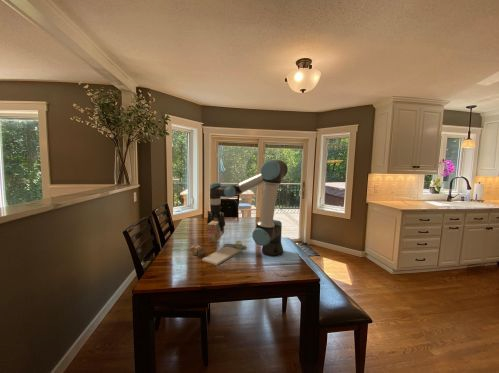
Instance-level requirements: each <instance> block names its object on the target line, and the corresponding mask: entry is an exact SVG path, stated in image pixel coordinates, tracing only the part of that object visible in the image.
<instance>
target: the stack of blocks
mask: <svg viewBox="0 0 499 373" xmlns="http://www.w3.org/2000/svg"><path fill="white" fill-rule="evenodd" d="M206 227H207V228H206V231H207V235H206V236H207V238H206V239H207V242H213V243H216V242H217V241H218V240H220V238H221V236H223V235H224V233H225V226H223V231H222V235H221V236H219V227H220V225H219V222H218V219H214V220H212V221H211V222H210V223H208V224H207V223H206Z"/></svg>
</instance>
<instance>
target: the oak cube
mask: <svg viewBox="0 0 499 373" xmlns="http://www.w3.org/2000/svg"><path fill="white" fill-rule="evenodd" d="M198 247H201V245H198V244H192V245H191V246H190V247H189V255H192V256H197V255H198Z"/></svg>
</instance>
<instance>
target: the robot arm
mask: <svg viewBox="0 0 499 373" xmlns="http://www.w3.org/2000/svg"><path fill="white" fill-rule="evenodd" d="M288 170H289V169H288V165H287V163H286V162H285V161H282V160H276V159H274V160H273V159H271V160H267V161H265V162H264V163H263V164H262V165H261V167H260V170H259V171H260V173H257V174H255V175H253V176H251V177H249V178H246V179H245V180H242V181H241V182H238V183H236V184H232V185H221V183H220V182H211V183H210V184H209V196H210V197H209V204H210V205H209V206H210V208H209V209H210V210H208V211H207V220H206V225H207V224H208V223H210V222H211V221H212V220H215V218H216V220H218V222H219V225H220V227H219V236H221V235H222V231H223V226H224V227H225V226H226V221H225V212H222V211H221V209H222V208H221V206H222V205H221V200H222V199H221V197H223V198H233V197H235V196H239V195H241V194H243V193H245V192H248V191H249V190H252V189H254V188H256V187H259V186H261V185H263V190H262V199H261V205H260V212H259V214H260V215H259V220H258V221H256V226H255V229H254V230H253V232H252V239H253V241H254V243H255V244H256V245H258V246H262V247H261V253H262V254H263V255H264V256H267V257H281V256H282V255H284V247H283V244H282V231H283V230H282V227H283V226H282V223H283V222H281V220H276V219H274V215H275V210H276V209H275V208H276V203H277V202H276V201H277V195H278V187H279V186H280V185H281V183H282V179H283V178H284V177H285V176H286V175H287V174H288V172H289V171H288ZM222 236H223V235H222Z"/></svg>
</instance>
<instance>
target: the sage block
mask: <svg viewBox="0 0 499 373" xmlns="http://www.w3.org/2000/svg"><path fill="white" fill-rule="evenodd" d="M242 247H243V240H236V242H235V249H239V250H242V249H243V248H242Z"/></svg>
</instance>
